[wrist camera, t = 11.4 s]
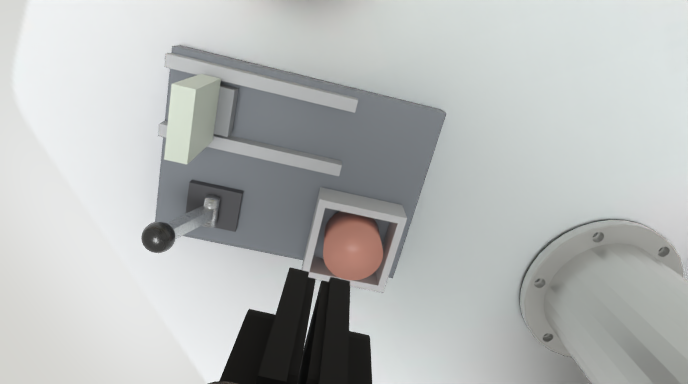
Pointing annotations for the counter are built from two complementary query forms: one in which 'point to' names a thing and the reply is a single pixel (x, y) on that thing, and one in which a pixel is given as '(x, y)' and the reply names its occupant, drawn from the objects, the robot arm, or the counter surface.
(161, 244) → the toggle
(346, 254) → the button
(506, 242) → the counter surface
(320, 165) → the panel
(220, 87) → the pale green block
